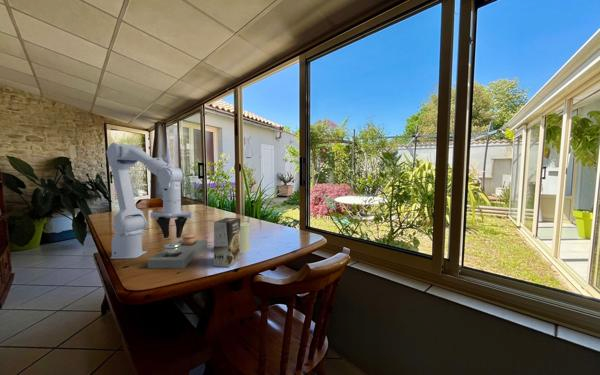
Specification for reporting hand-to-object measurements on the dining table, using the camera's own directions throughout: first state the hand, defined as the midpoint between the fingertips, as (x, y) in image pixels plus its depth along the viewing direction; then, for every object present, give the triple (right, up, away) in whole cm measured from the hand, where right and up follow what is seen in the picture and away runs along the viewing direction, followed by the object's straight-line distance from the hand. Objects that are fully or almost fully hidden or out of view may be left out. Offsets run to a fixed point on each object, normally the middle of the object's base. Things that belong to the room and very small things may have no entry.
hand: (172, 237), depth 89 cm
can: (+20, -9, +16) cm, 28 cm away
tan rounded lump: (-1, -6, +14) cm, 15 cm away
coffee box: (+20, -10, +1) cm, 22 cm away
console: (0, -9, +8) cm, 12 cm away
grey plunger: (0, -7, 0) cm, 7 cm away
